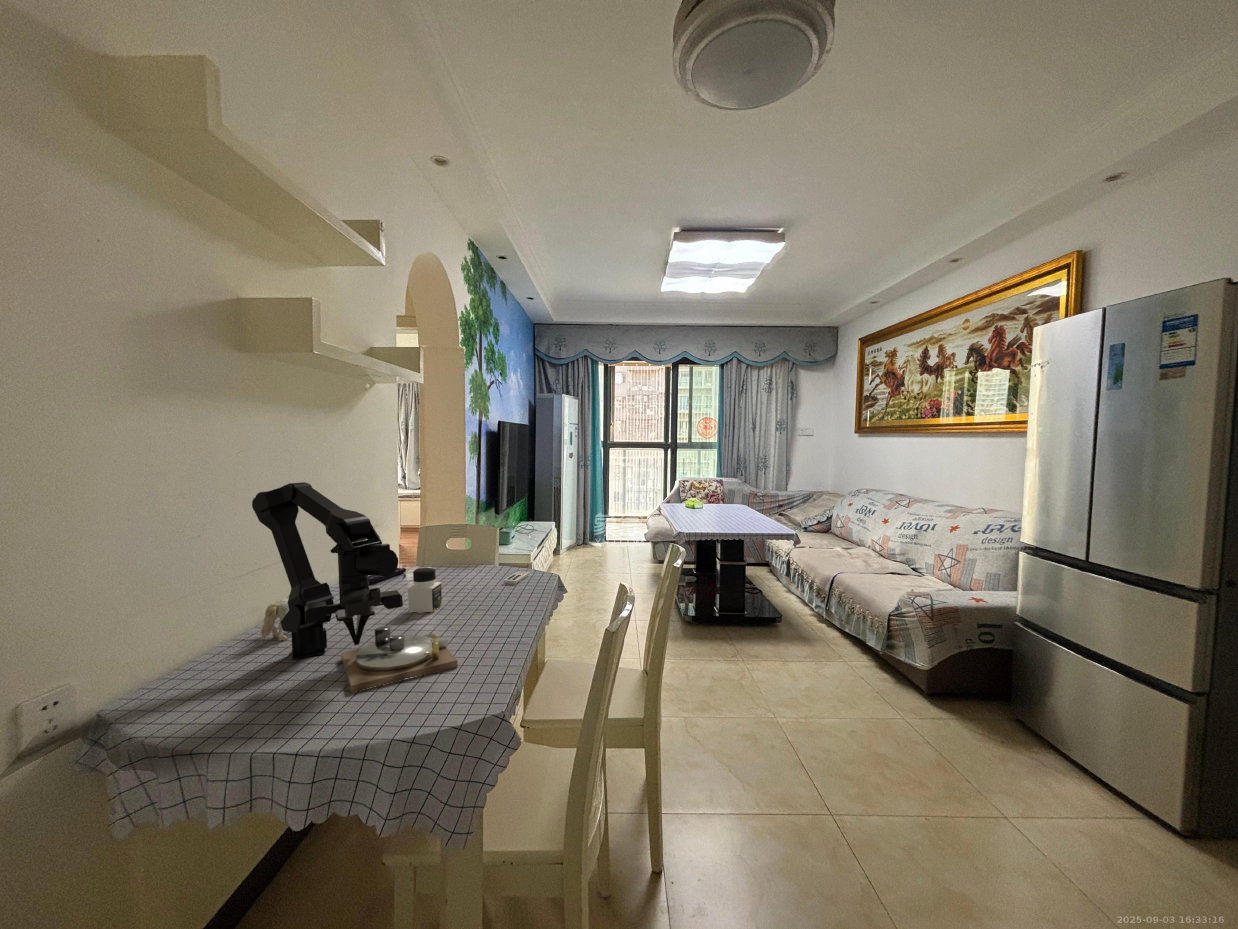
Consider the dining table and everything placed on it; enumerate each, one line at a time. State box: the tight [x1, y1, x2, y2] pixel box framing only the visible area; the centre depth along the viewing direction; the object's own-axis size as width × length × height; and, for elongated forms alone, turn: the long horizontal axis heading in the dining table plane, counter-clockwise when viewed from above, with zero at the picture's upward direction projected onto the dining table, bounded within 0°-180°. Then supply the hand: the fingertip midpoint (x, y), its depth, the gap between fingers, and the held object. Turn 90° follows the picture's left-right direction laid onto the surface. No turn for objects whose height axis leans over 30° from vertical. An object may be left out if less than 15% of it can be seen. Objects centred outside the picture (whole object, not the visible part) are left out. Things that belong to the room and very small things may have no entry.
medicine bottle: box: [407, 566, 443, 613], centre depth 152 cm, size 7×7×12 cm
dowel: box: [432, 642, 439, 660], centre depth 111 cm, size 1×1×4 cm
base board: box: [340, 633, 459, 694], centre depth 114 cm, size 20×20×2 cm
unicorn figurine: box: [260, 595, 289, 642], centre depth 135 cm, size 7×20×13 cm, turn 12°
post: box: [389, 634, 406, 651], centre depth 113 cm, size 3×3×2 cm
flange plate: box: [356, 625, 449, 671], centre depth 114 cm, size 18×16×4 cm
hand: (356, 644), depth 115 cm, fingers closed
